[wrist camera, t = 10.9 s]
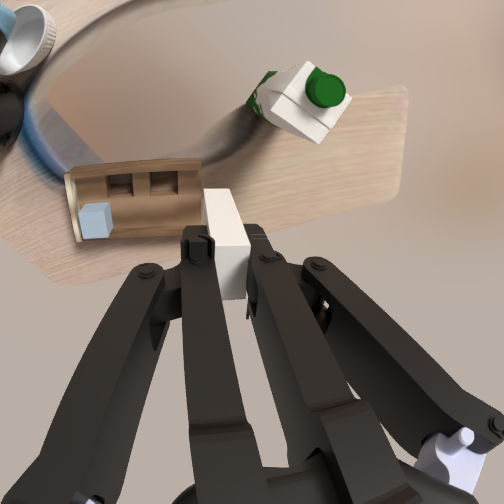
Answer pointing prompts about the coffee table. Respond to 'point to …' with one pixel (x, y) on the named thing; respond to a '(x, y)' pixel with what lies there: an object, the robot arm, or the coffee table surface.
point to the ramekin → (28, 40)
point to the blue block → (96, 220)
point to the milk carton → (301, 100)
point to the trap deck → (138, 197)
